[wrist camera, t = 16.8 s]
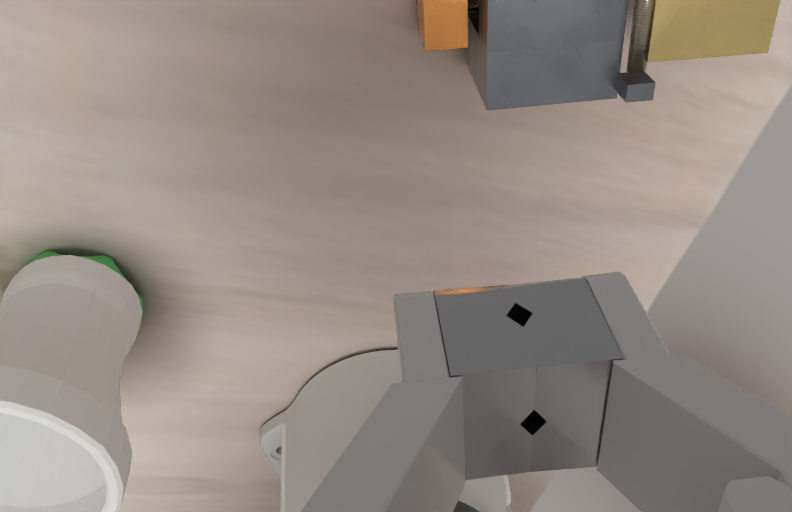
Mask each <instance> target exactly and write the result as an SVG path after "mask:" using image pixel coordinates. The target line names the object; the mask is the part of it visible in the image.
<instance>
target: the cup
mask: <svg viewBox="0 0 792 512" xmlns="http://www.w3.org/2000/svg"><path fill="white" fill-rule="evenodd" d="M143 306H144V305H143V297H142V296H141V295H139V294H138V293H137V292H136V291H135V290H134V288H133V286H132V285H131V284H130V283H129V282H128V281H127V280H126V278H125V277H124V276H123V274H122V273H121V272H120V270H119V268H118V267H117V266H116V264H115V263H114V261H113V259H112V258H110V257H108V256H106V255H99V256H92V257H89V256H73V255H61V254H58V253H56V252H52V251H46V252H43V253H41V254H39V255H38V256H37V257H35V258H34V259H33V260H31V261H30V262H29V263H28V264H27V265H26V266H25V267H23V268H22V269H21V270H20V271H19V272H18V273H17V274H16V275H15V276H14V277H13V278H12V280H11V282H10V283H9V285H8V287H7V288H6V290H5V292H4V295H3V298H2V301H1V304H0V512H118V511H119V509H120V507H121V504H122V500H123V496H124V492H125V488H126V484H127V480H128V476H129V472H130V464H131V457H132V449H131V445H130V441H129V438H128V435H127V431H126V428H125V426H124V425H123V422H122V416H121V402H120V378H121V372H122V368H123V364H124V361H125V357H126V355H127V354H128V353H129V352H130V350H131V348H132V346H133V344H134V342H135V340H136V337H137V334H138V331H139V328H140V325H141V319H142V315H143Z"/></svg>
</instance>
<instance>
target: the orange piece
mask: <svg viewBox="0 0 792 512" xmlns="http://www.w3.org/2000/svg"><path fill="white" fill-rule="evenodd" d="M476 7H479V0H417V14H418V29H419V33H420V36H421V39H422V42H423V45H424V48H425V51H435V50H446V49H457V48H468V8H476Z"/></svg>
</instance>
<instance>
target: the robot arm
mask: <svg viewBox="0 0 792 512" xmlns="http://www.w3.org/2000/svg"><path fill="white" fill-rule="evenodd" d="M394 311H395V322H396V333H397V345H398V350H384V351H375V352H369V353H364V354H360V355H357V356H353V357H350V358H347V359H345V360H342V361H340V362H337V363H335V364H333V365H331V366H330V367H328V368H326V369H325V370H323V371H322V372H320V373H319V374H317V375H316V376H315V377H314V378H312V379H311V380H310V381H309V382H308V383H307V384H306V385H305V386H304V387H303V389H302V390H301V391H300V393H299V394H298V396H297V397H296V399H295V400H294V402H293V403H292V404H291V406H290V407H289V408H288V409H287V410H285V411H284V412H282V413H280V414H279V415H277V416H275V417H274V418H272V419H271V420H269V421H268V422H267V423H265V424H264V425H263V426H262V427H261V429H260V444H261V447H262V448H263V450H264V452H265V453H266V455H267V457H268V459H269V460H270V462H271V464H272V465H273V467H274V469H275V471H276V472H277V474H278V476H279V477H280V479H281V512H510V503H511V491H510V485H509V480H508V475H509V474H517V473H524V472H534V471H546V470H559V469H571V468H584V467H597V470H598V471H599V472H600V473H601V474H602V475H603V476H604V477H606V479H607V480H609V481H610V482H611V483H612V484H613V485H614V486H615V487H616V488H617V489H618V490H619V491H620V492H621V493H623V495H625V496H626V497H627V498H628V499H629V500H630V501H631V502H632V503H633V504H634V505H635V506H636V507H637V508H638V509H639V510H640V511H642V512H792V417H791V416H789V415H787V414H786V413H784V412H782V411H781V410H779V409H777V408H775V407H774V406H772V405H770V404H768V403H767V402H765V401H763V400H761V399H760V398H757V397H756V396H754V395H753V394H751V393H749V392H747V391H746V390H744V389H742V388H741V387H739V386H737V385H735V384H734V383H732V382H730V381H728V380H727V379H725V378H723V377H721V376H720V375H718V374H716V373H714V372H713V371H711V370H709V369H707V368H706V367H704V366H702V365H700V364H699V363H697V362H695V361H693V360H692V359H690V358H688V357H687V356H685V355H683V354H677V355H670V353H669V351H668V350H667V348H666V346H665V344H664V343H663V341H662V339H661V337H660V336H659V334H658V332H657V330H656V329H655V327H654V325H653V323H652V322H651V320H650V318H649V316H648V315H647V313H646V311H645V309H644V308H643V306H642V304H641V302H640V301H639V299H638V297H637V295H636V294H635V292H634V290H633V288H632V287H631V285H630V283H629V281H628V280H627V278H626V276H625V275H623V274H622V273H620V272H614V273H606V274H598V275H590V276H582V277H581V278H573V279H564V280H554V281H545V282H535V283H525V284H516V285H501V286H488V287H475V288H462V289H449V290H436V291H433V294H432V292H431V291H428V292H417V293H405V294H394Z"/></svg>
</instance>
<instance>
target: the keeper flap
mask: <svg viewBox="0 0 792 512" xmlns="http://www.w3.org/2000/svg"><path fill="white" fill-rule="evenodd" d="M779 3H780V0H635V7H634V15H633V23H632V31H631V39H630V47H629V55H628V63H627V72H629V73H632V74H641V73H644V72H645V71H646V65H647V62H656V61H669V60H681V59H694V58H707V57H719V56H732V55H744V54H757V53H768V50H769V45H770V41H771V37H772V33H773V29H774V24H775V20H776V16H777V12H778V8H779Z"/></svg>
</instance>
